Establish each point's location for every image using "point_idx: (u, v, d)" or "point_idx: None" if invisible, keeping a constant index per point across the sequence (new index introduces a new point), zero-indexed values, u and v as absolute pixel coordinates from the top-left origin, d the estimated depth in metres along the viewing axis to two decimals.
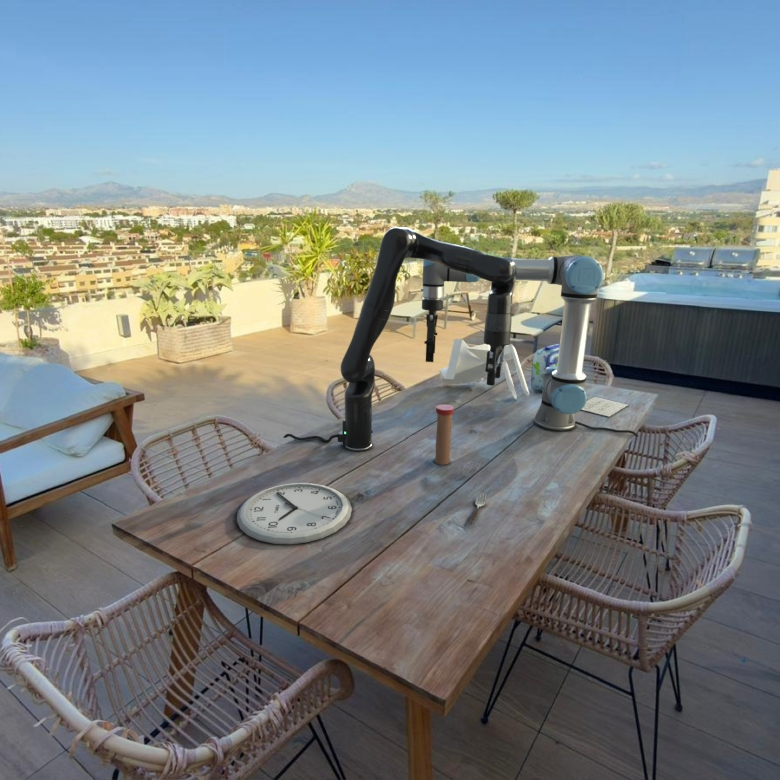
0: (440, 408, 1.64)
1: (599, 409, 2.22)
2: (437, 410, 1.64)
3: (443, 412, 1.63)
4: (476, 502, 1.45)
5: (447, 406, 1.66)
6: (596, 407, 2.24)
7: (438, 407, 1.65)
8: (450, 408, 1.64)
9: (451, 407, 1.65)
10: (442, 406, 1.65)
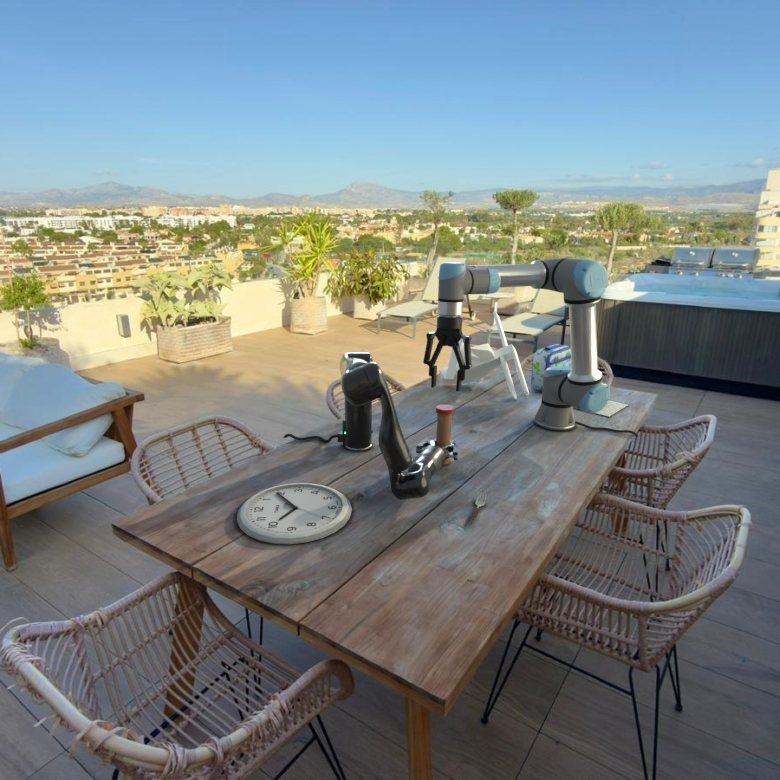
0: (440, 408, 1.64)
1: None
2: (437, 410, 1.64)
3: (443, 412, 1.63)
4: (476, 502, 1.45)
5: (447, 406, 1.66)
6: None
7: (438, 407, 1.65)
8: (450, 408, 1.64)
9: (451, 407, 1.65)
10: (442, 406, 1.65)
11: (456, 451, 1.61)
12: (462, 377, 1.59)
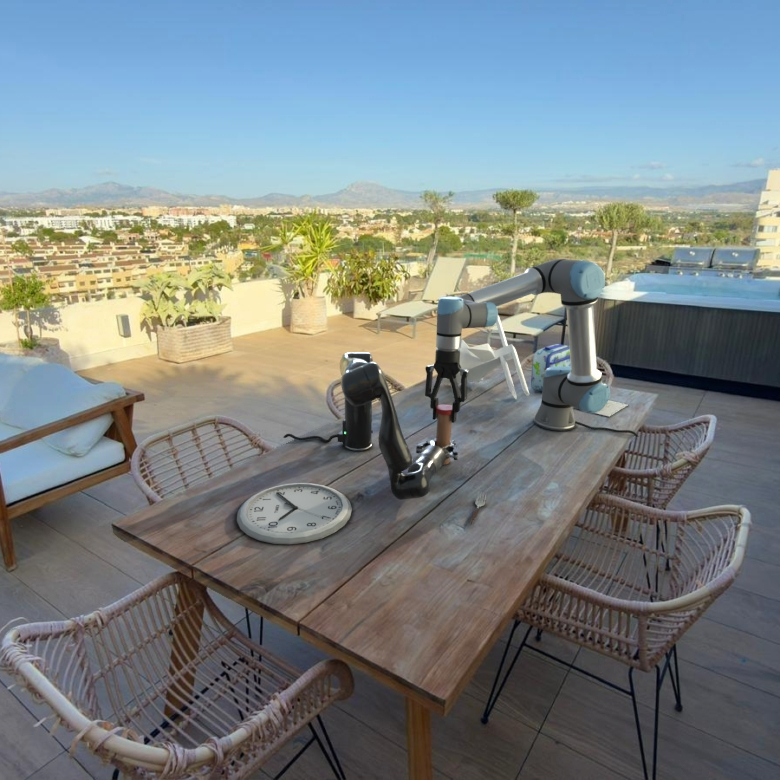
0: (440, 408, 1.64)
1: None
2: (437, 410, 1.64)
3: (443, 412, 1.63)
4: (476, 502, 1.45)
5: (447, 406, 1.66)
6: None
7: (438, 407, 1.65)
8: (450, 408, 1.64)
9: (451, 407, 1.65)
10: (442, 406, 1.65)
11: (456, 451, 1.61)
12: (457, 409, 1.63)
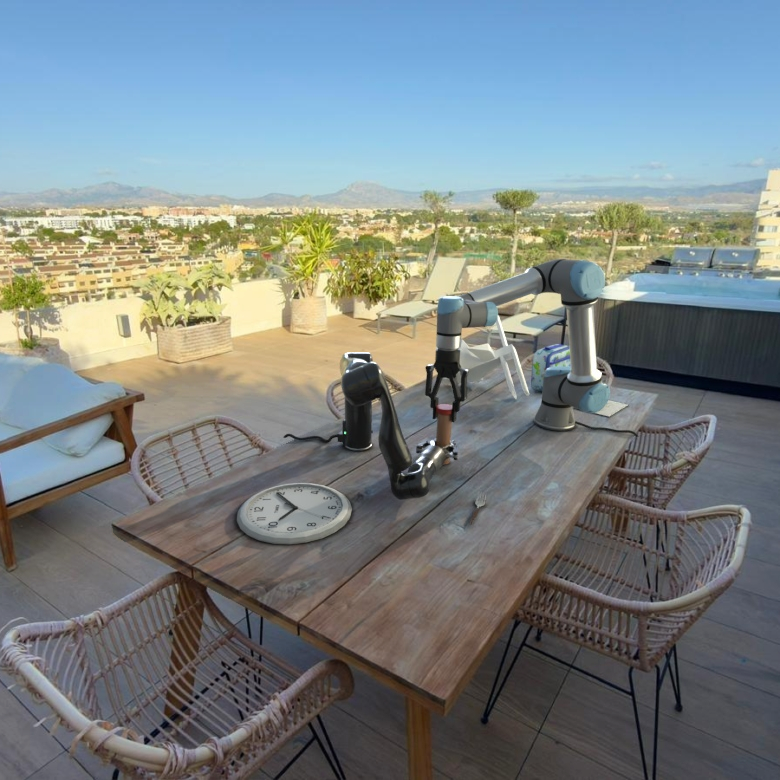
0: (451, 407, 1.65)
1: None
2: None
3: None
4: (476, 502, 1.45)
5: (441, 406, 1.65)
6: None
7: (451, 408, 1.64)
8: (441, 405, 1.67)
9: (440, 405, 1.66)
10: (446, 407, 1.64)
11: (456, 451, 1.61)
12: (457, 409, 1.63)
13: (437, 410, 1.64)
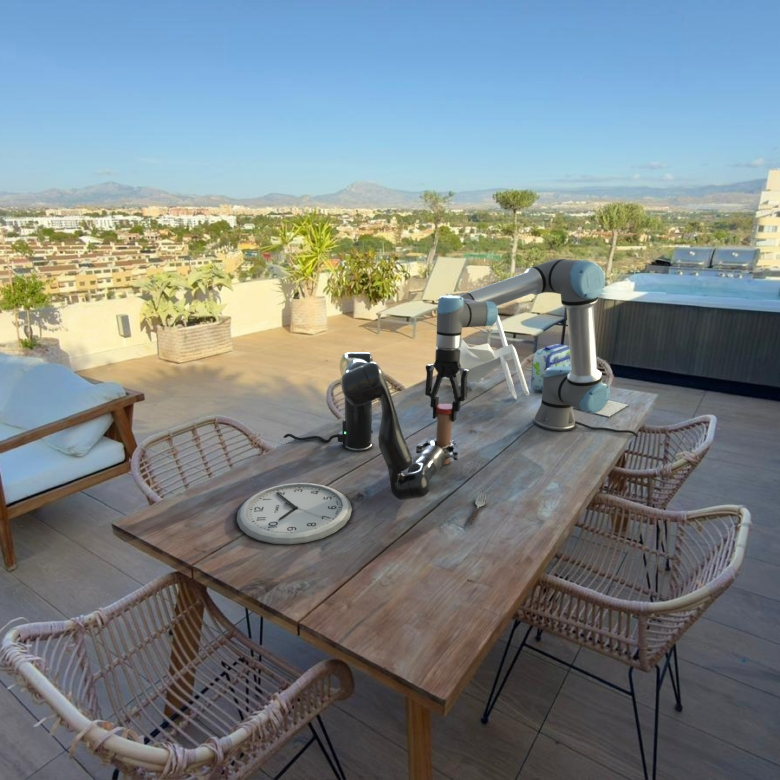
0: (440, 404, 1.66)
1: None
2: None
3: (436, 408, 1.66)
4: (476, 502, 1.45)
5: (448, 407, 1.64)
6: None
7: (442, 404, 1.67)
8: (444, 408, 1.63)
9: (446, 408, 1.63)
10: (445, 405, 1.66)
11: (456, 451, 1.61)
12: (457, 408, 1.63)
13: None
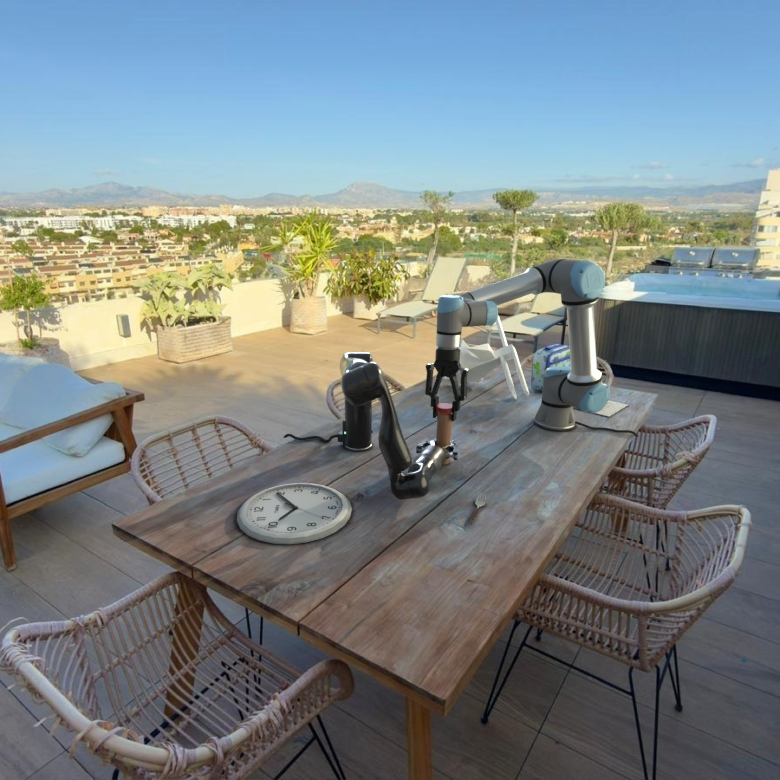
0: (445, 407, 1.63)
1: None
2: (444, 410, 1.62)
3: (451, 410, 1.63)
4: (476, 502, 1.45)
5: (444, 404, 1.66)
6: None
7: (442, 407, 1.63)
8: (449, 404, 1.66)
9: (448, 404, 1.66)
10: (442, 406, 1.65)
11: (456, 451, 1.61)
12: (457, 408, 1.62)
13: None
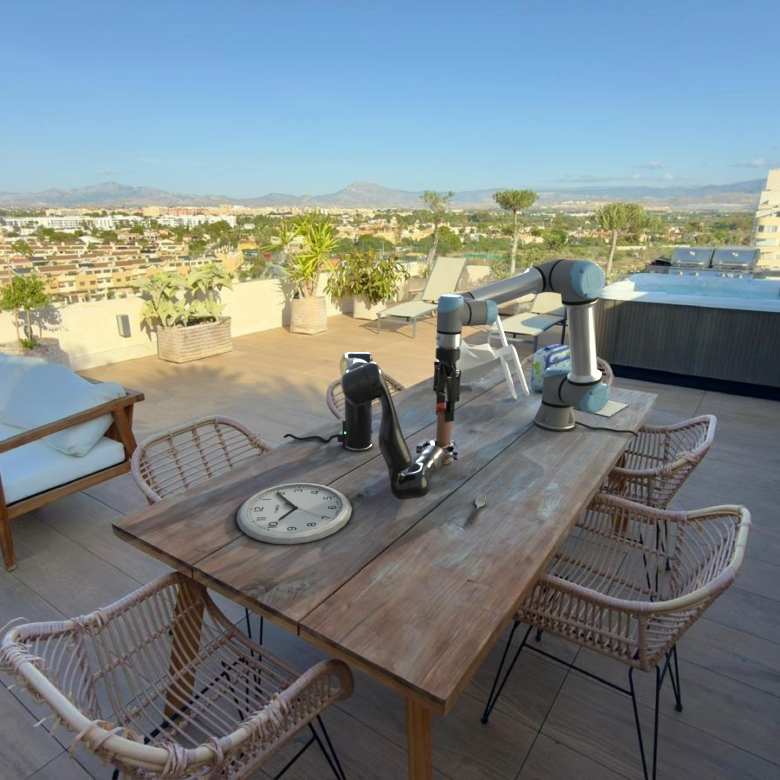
0: None
1: None
2: None
3: None
4: (476, 502, 1.45)
5: (443, 406, 1.64)
6: None
7: None
8: (439, 404, 1.65)
9: (439, 405, 1.65)
10: None
11: (456, 451, 1.61)
12: None
13: (444, 410, 1.62)
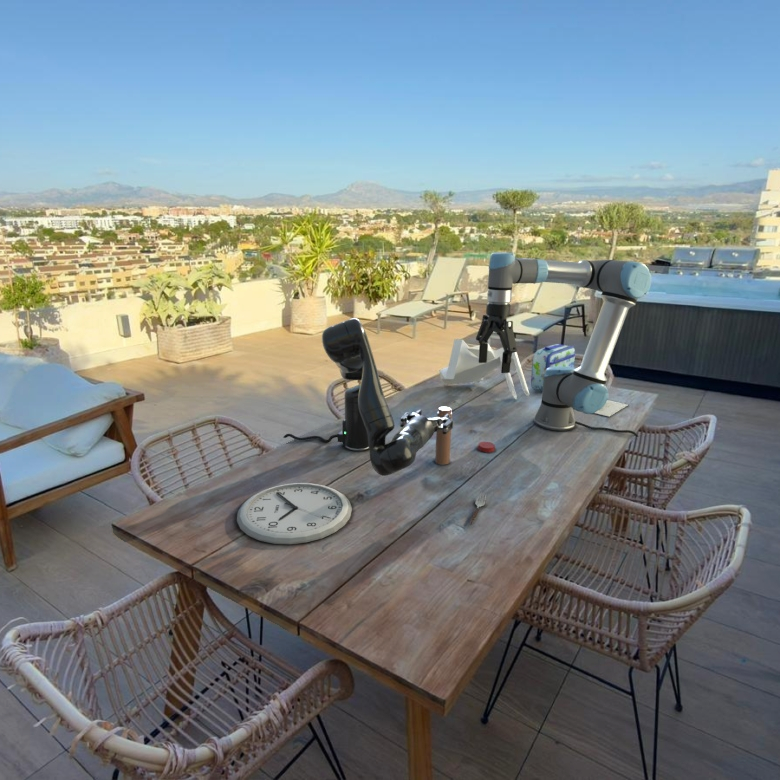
0: (489, 443, 1.82)
1: None
2: None
3: None
4: (476, 502, 1.45)
5: (485, 445, 1.79)
6: None
7: (492, 444, 1.81)
8: (481, 444, 1.81)
9: (481, 445, 1.80)
10: (488, 445, 1.80)
11: (446, 424, 1.43)
12: None
13: (486, 450, 1.78)
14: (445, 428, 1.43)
